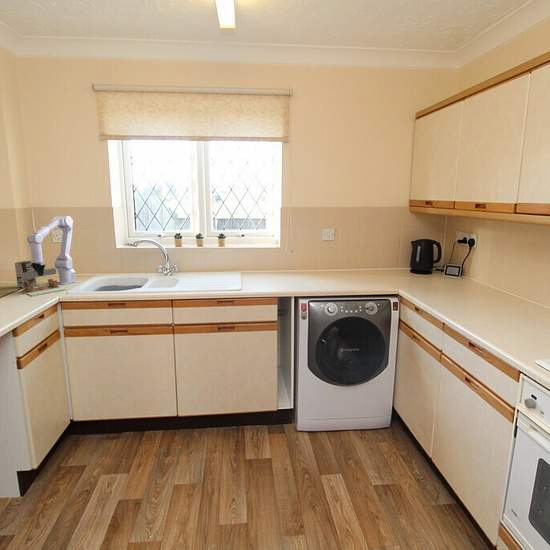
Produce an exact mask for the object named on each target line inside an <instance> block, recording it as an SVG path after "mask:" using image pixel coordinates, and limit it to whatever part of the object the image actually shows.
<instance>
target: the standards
mask: <svg viewBox="0 0 550 550" xmlns="http://www.w3.org/2000/svg"><path fill="white" fill-rule="evenodd" d="M47 282H48V285H46V286H40V287H39V286H38V287H34V286H33V284H29V283H23V284H24V288H23V290H22V292H23V293H25V292H26V294H27V293H31V292H36V291H42V290H47V289H53V288H59V287H60V286H58V284H59V283H57V282H58V280H57V279H53V278H48V279H47Z"/></svg>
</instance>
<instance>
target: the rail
mask: <svg viewBox="0 0 550 550" xmlns="http://www.w3.org/2000/svg"><path fill="white" fill-rule="evenodd" d="M52 275H57V268H56V267H51V268H50V267H49V268H44V272H43V276H42V277H45V276H52ZM34 277H36V278H40V277H41V276H39V275H38V271H37V270H35V271H29V272H22V278H23V279H28V278H34Z"/></svg>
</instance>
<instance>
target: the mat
mask: <svg viewBox="0 0 550 550" xmlns="http://www.w3.org/2000/svg"><path fill="white" fill-rule="evenodd" d="M66 289H67V287H62V286H59V288H53V289H47V290H42V291H36V292H31V293H26V295H27V294H28V296H30V297H35V295H36V296H40V295H41V294H42V295H47V294H52V293H51V292H53V293H57V292H56V291H58V292H62V290H63V291H67V290H66ZM46 293H47V294H46ZM42 295H41V296H42Z"/></svg>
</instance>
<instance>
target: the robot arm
mask: <svg viewBox="0 0 550 550" xmlns="http://www.w3.org/2000/svg"><path fill="white" fill-rule="evenodd" d="M73 225H74V220H73V218H72V217H71V216H70V215H64V216H63V215H59V216H58V215H56V216H55V217H53V218H52V220H51V221H50V222H49V223H48V224H47V225H45V226H39V228H38V229H37V230H35V231H34V232H32V233H30V234H29V235H27V238H26V241H27V243H28V245H29V248H30V253H31V255H30V256H31V260H29V261H30V263H34V264H31V266H32V267H33V268H34V271H35V270H37V271H38V275H39V276H40V277H44V276H43V272H44V269H46V268H45V267H46V265H47V264H46V263H45V261H44V258H43V257H44V256H43V249H42V243H43V241H44V238H46V237H48V236H49V234H50V231H52V230H53V229H55V228H56V227H58V228H59V229H60V230H62V238H61V245H60V252H59V255H58V256H56V259H55V261H54V268H55V269H56V271H57V272H58V280H59V281H57V283H58V284H60V285H66V284H73V283H77V278H76V275H77V274H76V270H75V269H74V268H73V266H74V264H73V258H72V257H71V254H70V252H71V246H72V244H71V243H72V236H73Z"/></svg>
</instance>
